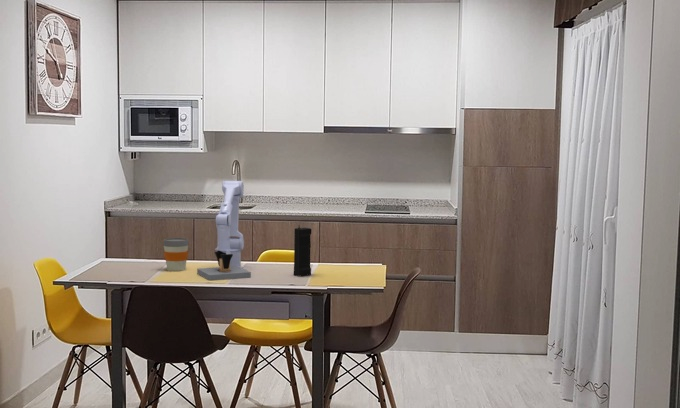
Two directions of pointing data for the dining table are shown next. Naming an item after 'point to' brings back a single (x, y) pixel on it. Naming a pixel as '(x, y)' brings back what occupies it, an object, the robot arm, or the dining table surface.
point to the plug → (223, 267)
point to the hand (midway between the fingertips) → (223, 267)
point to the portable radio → (302, 251)
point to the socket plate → (223, 273)
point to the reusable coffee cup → (176, 253)
